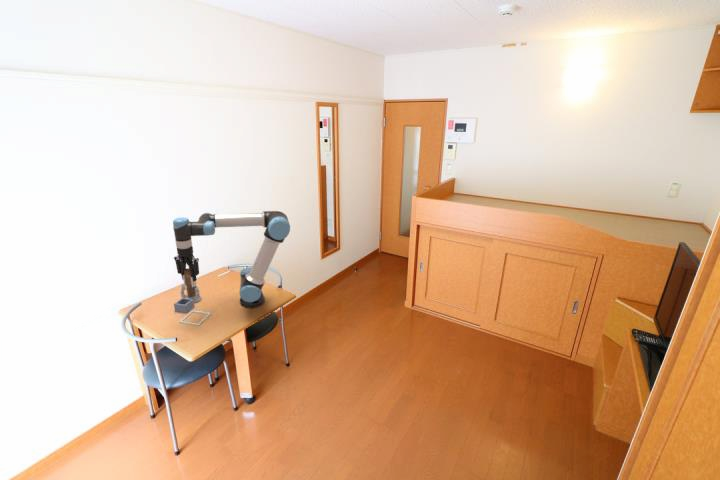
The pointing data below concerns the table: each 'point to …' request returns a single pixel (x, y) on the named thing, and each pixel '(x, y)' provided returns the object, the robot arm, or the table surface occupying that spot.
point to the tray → (195, 323)
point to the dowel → (189, 283)
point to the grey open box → (184, 305)
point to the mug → (195, 298)
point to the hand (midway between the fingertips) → (190, 285)
